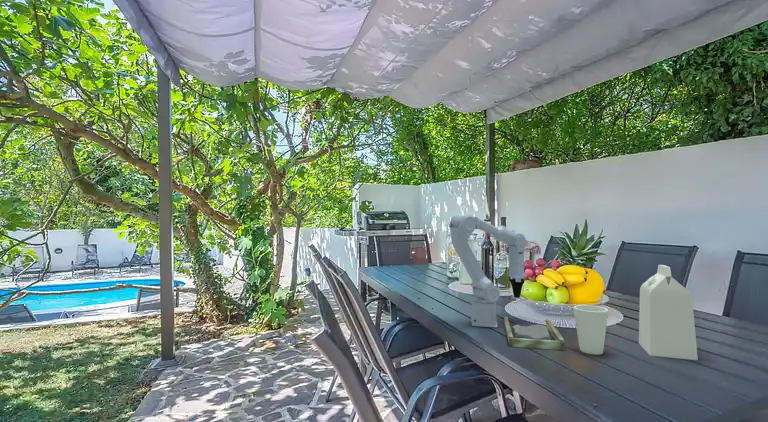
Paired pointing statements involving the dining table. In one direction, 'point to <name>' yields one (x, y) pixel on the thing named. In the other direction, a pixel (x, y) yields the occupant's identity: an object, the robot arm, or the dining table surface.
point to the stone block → (531, 332)
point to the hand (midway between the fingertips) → (517, 297)
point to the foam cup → (591, 327)
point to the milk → (666, 317)
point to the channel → (536, 343)
